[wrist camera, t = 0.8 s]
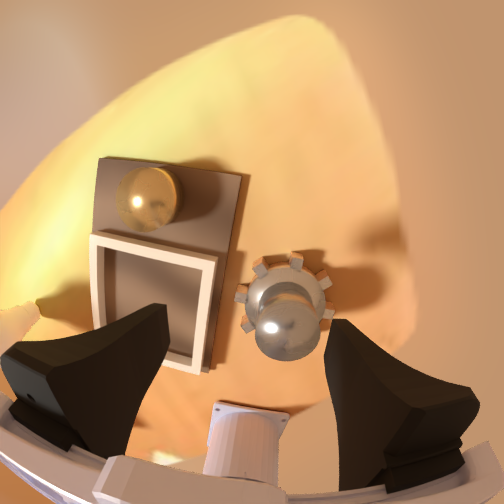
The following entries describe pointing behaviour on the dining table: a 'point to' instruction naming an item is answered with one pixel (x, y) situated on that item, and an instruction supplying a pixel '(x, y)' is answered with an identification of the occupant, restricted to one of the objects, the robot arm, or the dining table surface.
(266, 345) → the planet gear
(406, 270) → the dining table surface
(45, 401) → the robot arm
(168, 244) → the carrier board
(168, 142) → the dining table surface
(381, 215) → the dining table surface
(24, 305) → the lightbulb
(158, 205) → the golden brown dome
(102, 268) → the carrier pocket
